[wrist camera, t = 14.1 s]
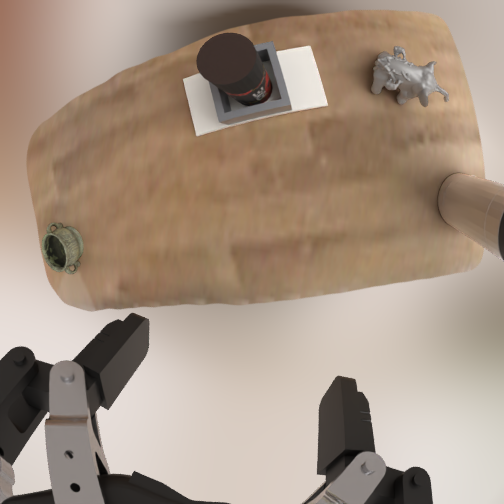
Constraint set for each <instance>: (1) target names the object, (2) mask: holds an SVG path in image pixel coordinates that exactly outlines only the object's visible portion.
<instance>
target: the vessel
mask: <svg viewBox="0 0 504 504" xmlns="http://www.w3.org/2000/svg"><path fill="white" fill-rule="evenodd" d="M51 226H55V227H56V228H57V229H56V230H54V231H53V232H52V231H51ZM42 252H43V255H44V258H45V260H46V262H47V264H48V265H49V266H50V267H51V268H52V269H53V270H55V271H57V272H62V271H64V270H65V272H66V273H68V274H74V273H75V272H76V271H77V268H78V266H80V262H79V261H77V260H78V258H80V257H81V255H82V253H83V241H82V238H81V236H80V234H79V232H78V231H77V230H76V229H74V228H72V227H66V228H63V225H62V224H61V223H59V224H57V223H51V224H49V226H48V227H47V234H46V235H45V236H44V237H43V240H42ZM76 261H77V262H76ZM72 265H74V267H75V270H74V271H71V270H70V268H69V266H72Z"/></svg>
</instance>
